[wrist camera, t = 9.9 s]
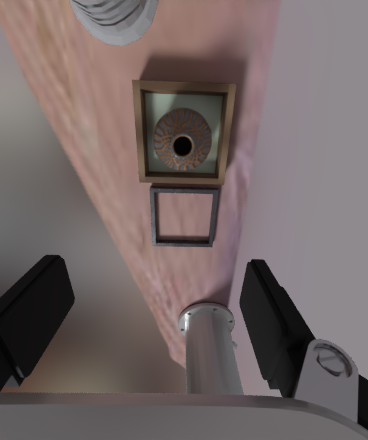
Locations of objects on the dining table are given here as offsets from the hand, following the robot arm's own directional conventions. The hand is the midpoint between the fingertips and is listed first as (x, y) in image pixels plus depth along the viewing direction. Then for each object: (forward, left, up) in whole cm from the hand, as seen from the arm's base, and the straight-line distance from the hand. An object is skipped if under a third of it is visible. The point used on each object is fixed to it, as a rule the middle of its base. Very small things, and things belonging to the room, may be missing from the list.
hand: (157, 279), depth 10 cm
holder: (+3, -5, -22) cm, 23 cm away
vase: (+3, -5, -21) cm, 22 cm away
